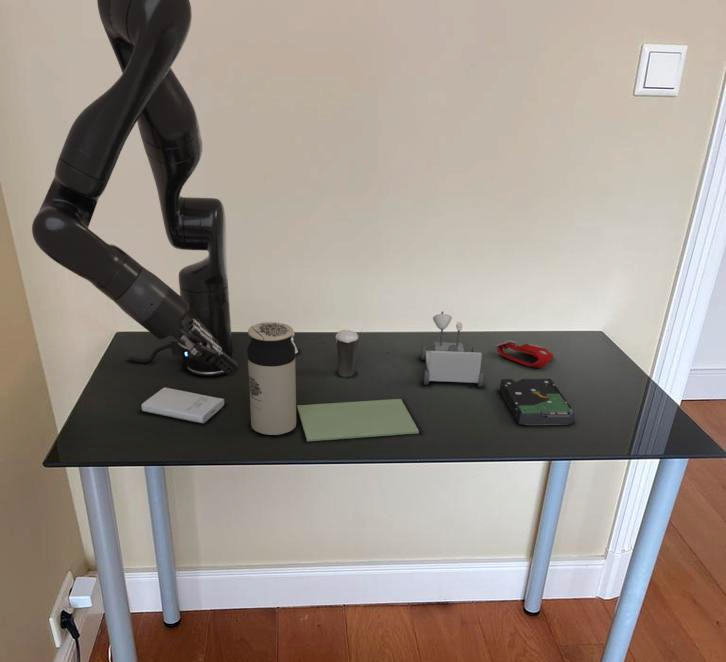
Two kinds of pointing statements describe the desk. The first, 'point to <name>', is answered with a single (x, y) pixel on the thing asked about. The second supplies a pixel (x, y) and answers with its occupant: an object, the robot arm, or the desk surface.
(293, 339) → the chess pawn
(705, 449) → the desk surface
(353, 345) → the milkshake
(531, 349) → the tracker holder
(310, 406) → the mat
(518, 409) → the disk drive
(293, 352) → the travel mug
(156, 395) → the hard drive
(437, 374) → the toy car
